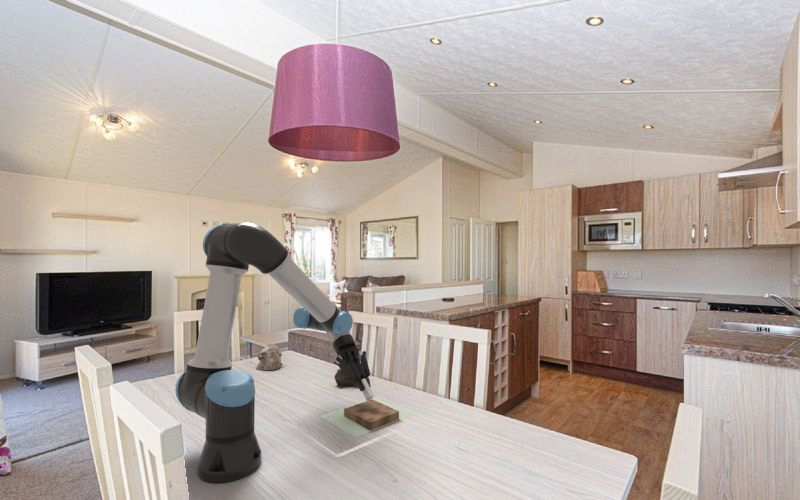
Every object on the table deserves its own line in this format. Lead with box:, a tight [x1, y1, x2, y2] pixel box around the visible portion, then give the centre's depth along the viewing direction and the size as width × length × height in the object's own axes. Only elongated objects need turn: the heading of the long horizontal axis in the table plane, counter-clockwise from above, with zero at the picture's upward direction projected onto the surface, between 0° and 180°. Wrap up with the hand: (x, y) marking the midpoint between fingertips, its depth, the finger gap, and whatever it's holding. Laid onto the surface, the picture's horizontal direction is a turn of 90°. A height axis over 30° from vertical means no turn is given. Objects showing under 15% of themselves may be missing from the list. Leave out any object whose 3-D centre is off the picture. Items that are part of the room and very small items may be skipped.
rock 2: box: [334, 368, 371, 387], centre depth 161 cm, size 14×9×10 cm
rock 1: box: [255, 344, 283, 371], centre depth 185 cm, size 15×12×10 cm
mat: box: [319, 397, 414, 438], centre depth 130 cm, size 24×20×1 cm
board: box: [344, 398, 399, 432], centre depth 128 cm, size 12×2×14 cm
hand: (370, 398), depth 128 cm, fingers closed
